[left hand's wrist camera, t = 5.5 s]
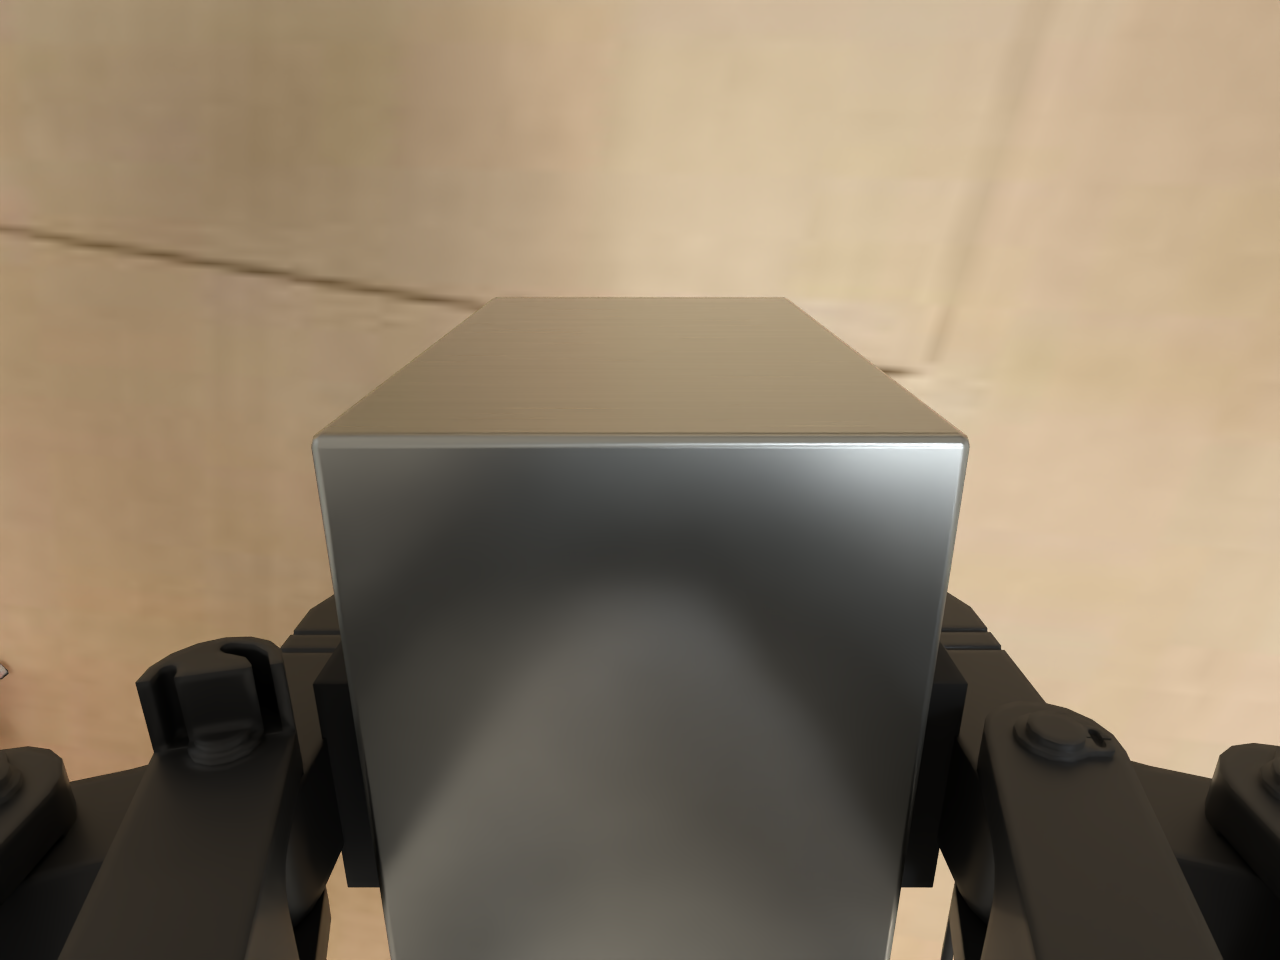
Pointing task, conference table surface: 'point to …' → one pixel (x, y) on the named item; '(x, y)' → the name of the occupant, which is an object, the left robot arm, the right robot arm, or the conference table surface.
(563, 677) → the bar
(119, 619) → the conference table surface
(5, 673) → the fish
